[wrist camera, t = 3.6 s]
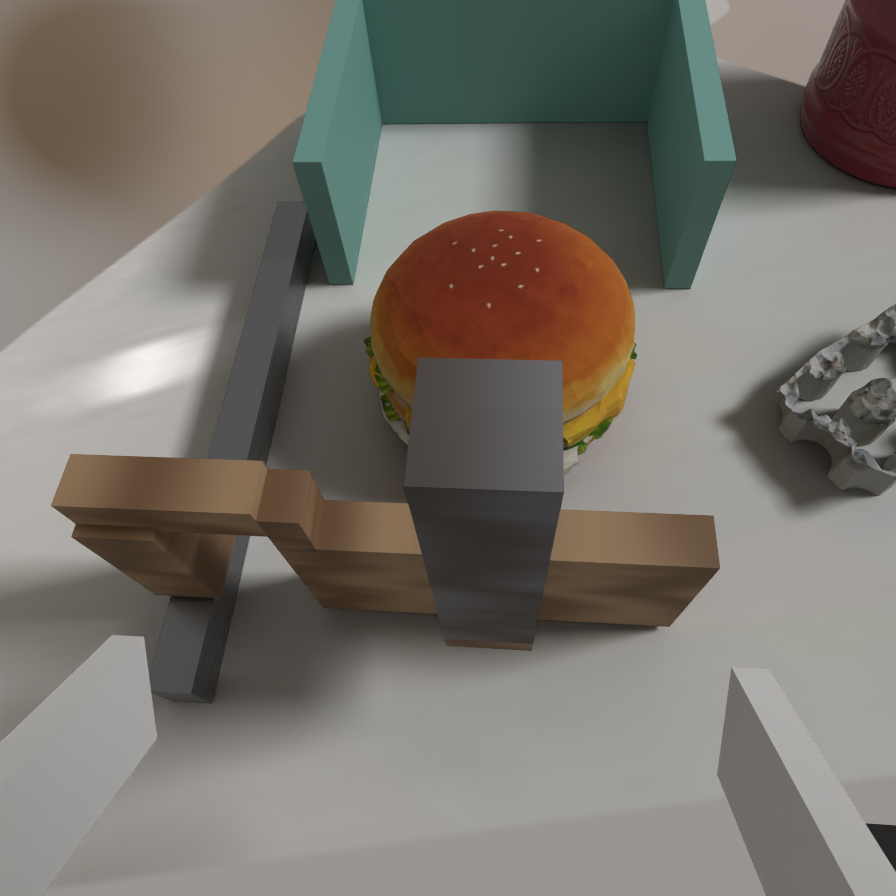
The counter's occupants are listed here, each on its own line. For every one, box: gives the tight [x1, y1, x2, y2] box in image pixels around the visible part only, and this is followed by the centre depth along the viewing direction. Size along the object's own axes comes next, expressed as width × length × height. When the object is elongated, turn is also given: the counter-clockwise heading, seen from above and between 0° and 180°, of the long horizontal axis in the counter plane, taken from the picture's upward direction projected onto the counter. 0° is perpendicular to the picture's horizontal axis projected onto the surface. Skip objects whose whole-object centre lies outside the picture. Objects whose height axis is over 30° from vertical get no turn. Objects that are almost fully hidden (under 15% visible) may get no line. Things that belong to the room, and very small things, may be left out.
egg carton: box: [776, 304, 896, 496], centre depth 35 cm, size 11×8×4 cm
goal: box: [293, 0, 737, 289], centre depth 42 cm, size 22×17×9 cm
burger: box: [364, 211, 637, 476], centre depth 34 cm, size 13×14×10 cm
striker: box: [51, 358, 720, 651], centre depth 23 cm, size 23×6×20 cm, turn 86°
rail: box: [149, 202, 316, 703], centre depth 37 cm, size 2×30×2 cm, turn 176°
